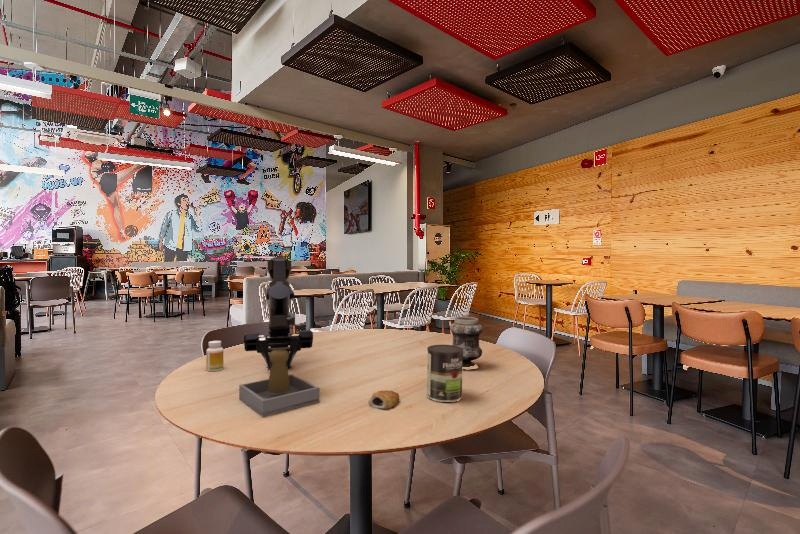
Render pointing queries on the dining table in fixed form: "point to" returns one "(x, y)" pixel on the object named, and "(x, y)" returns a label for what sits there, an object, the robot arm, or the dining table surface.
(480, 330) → the apothecary jar
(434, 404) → the dining table surface
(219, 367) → the supplement bottle
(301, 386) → the grey bin
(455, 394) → the coffee can
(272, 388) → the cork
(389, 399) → the pastry
